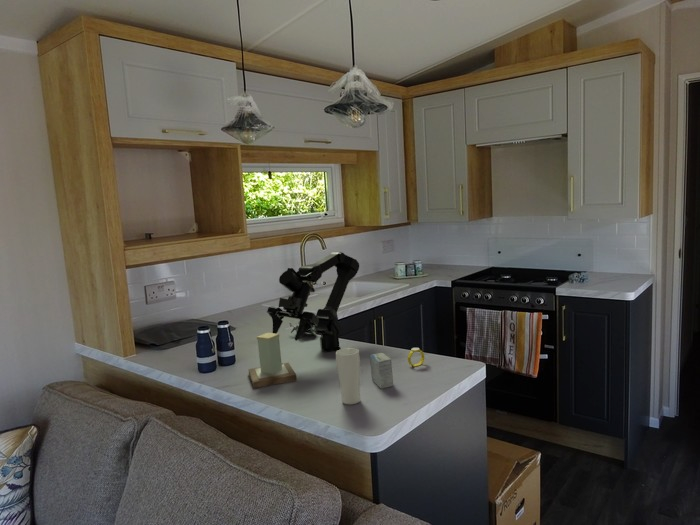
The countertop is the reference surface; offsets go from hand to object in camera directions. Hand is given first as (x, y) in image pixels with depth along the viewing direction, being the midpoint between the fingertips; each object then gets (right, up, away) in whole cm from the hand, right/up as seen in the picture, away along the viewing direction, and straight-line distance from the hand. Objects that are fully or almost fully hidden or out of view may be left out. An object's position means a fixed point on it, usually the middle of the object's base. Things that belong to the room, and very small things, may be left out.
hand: (284, 338), depth 184 cm
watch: (+45, -9, -5) cm, 46 cm away
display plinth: (-3, -12, -6) cm, 14 cm away
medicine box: (+33, -12, -19) cm, 40 cm away
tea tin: (-4, -10, -6) cm, 12 cm away
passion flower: (+3, -5, +43) cm, 44 cm away
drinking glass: (+23, -14, -31) cm, 41 cm away
